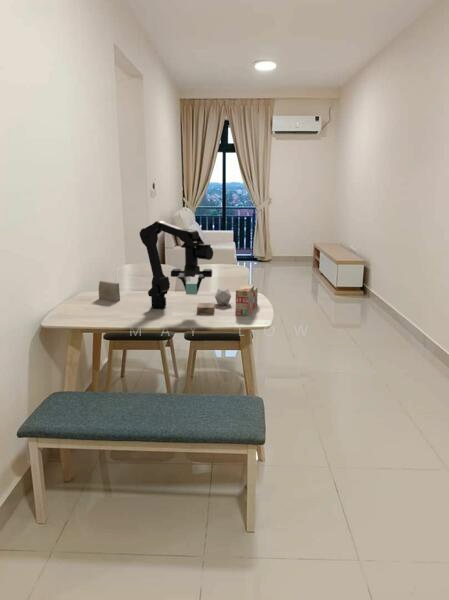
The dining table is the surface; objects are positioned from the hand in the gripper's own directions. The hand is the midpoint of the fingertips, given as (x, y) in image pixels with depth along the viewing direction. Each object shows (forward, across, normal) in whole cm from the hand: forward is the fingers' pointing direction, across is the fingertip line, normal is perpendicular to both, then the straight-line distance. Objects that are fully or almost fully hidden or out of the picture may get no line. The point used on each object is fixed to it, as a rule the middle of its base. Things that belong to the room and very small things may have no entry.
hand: (192, 290), depth 208 cm
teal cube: (+1, 0, 0) cm, 1 cm away
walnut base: (+11, +6, +5) cm, 14 cm away
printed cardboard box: (+12, +26, +10) cm, 30 cm away
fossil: (+11, -47, +22) cm, 53 cm away
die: (+11, +14, +18) cm, 25 cm away
